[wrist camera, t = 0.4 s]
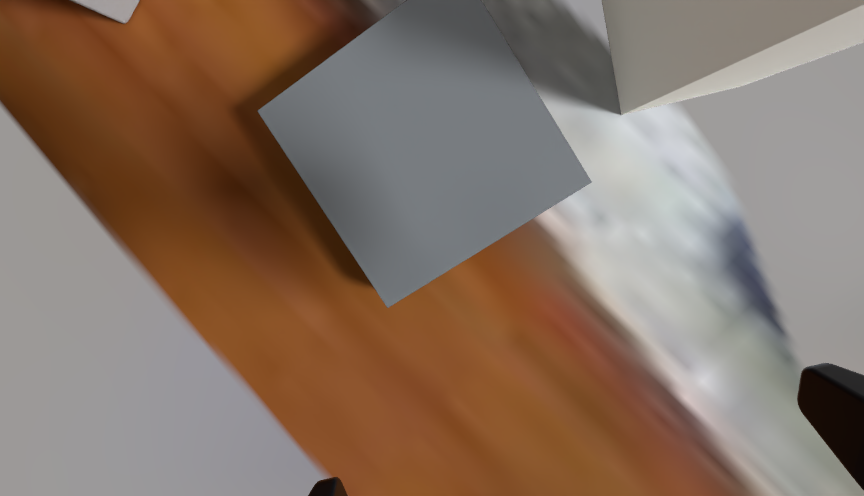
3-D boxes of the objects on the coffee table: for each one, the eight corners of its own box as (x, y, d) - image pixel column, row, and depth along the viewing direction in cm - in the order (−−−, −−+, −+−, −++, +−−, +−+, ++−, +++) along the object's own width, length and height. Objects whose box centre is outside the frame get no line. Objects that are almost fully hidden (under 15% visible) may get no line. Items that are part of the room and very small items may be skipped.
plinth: (577, 182, 21) (591, 182, 18) (397, 294, 22) (387, 308, 20) (460, -11, 20) (458, -38, 17) (282, 119, 21) (257, 110, 19)
